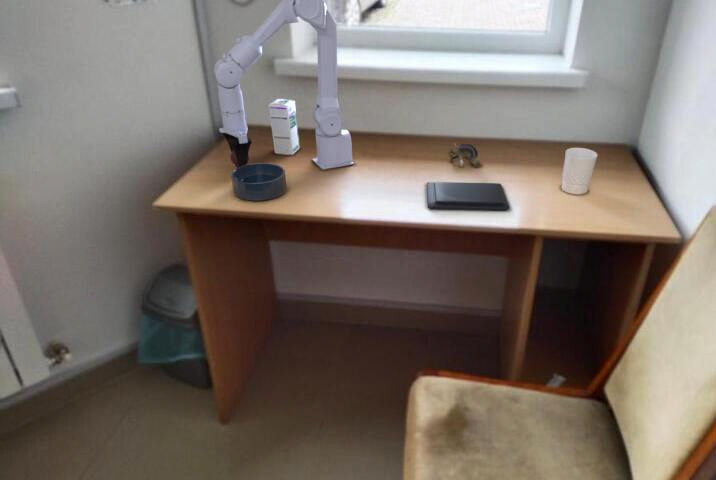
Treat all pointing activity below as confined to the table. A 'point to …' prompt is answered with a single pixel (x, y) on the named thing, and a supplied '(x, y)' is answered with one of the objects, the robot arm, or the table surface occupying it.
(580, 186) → the white cup
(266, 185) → the bowl
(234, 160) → the plum
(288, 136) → the syrup box
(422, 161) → the table surface
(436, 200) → the wallet
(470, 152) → the chipmunk toy
